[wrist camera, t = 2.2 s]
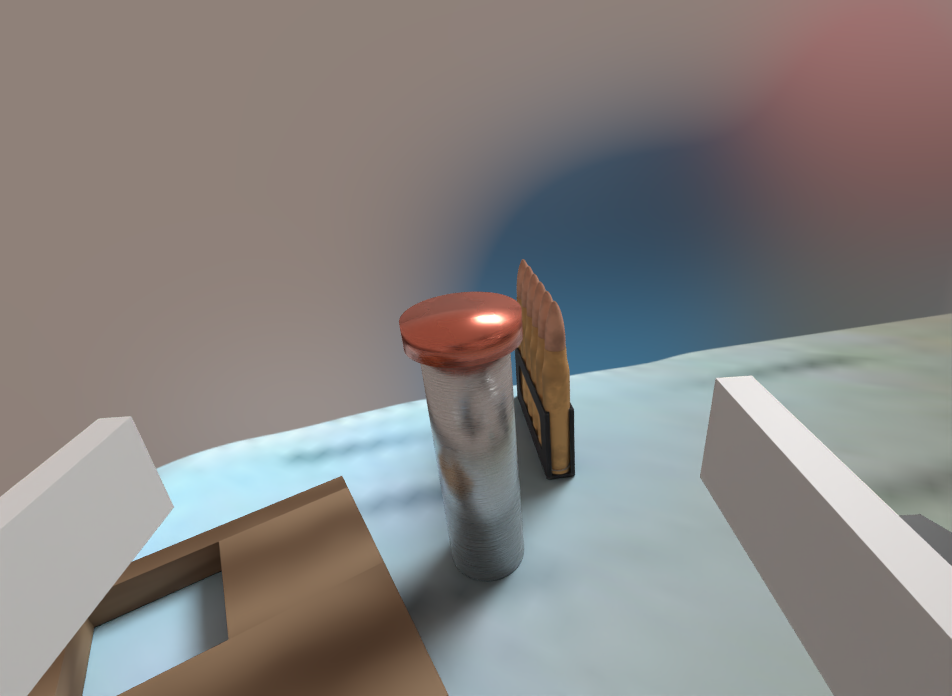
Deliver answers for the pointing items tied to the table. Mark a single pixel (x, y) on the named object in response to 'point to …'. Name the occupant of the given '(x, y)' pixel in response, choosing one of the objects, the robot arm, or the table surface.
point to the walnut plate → (276, 609)
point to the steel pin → (472, 422)
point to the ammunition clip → (544, 376)
